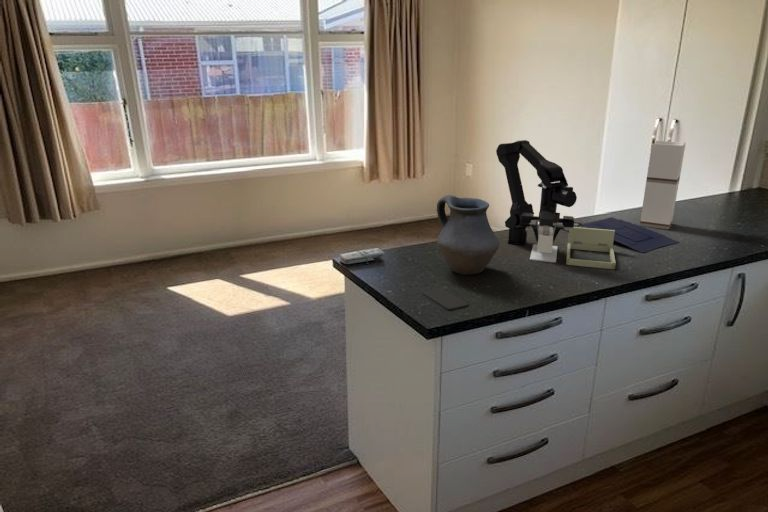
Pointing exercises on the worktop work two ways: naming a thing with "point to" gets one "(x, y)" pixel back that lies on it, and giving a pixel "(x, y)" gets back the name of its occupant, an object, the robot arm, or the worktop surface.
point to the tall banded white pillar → (662, 184)
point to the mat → (543, 254)
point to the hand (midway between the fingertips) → (544, 242)
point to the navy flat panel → (632, 234)
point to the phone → (445, 299)
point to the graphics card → (576, 224)
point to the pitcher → (466, 234)
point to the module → (545, 239)
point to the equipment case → (591, 245)
